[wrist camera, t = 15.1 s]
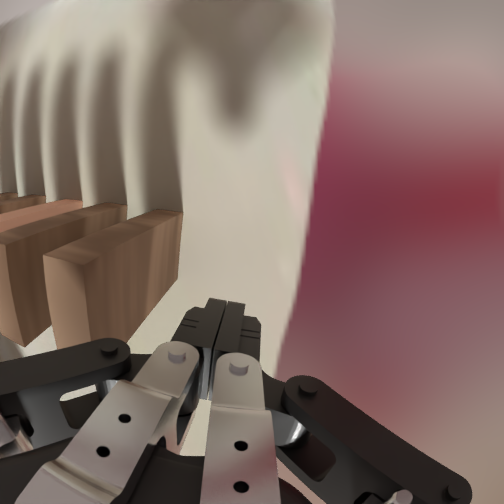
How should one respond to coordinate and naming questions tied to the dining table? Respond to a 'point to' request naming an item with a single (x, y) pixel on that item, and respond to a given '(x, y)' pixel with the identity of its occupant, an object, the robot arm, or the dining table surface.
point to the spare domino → (37, 213)
